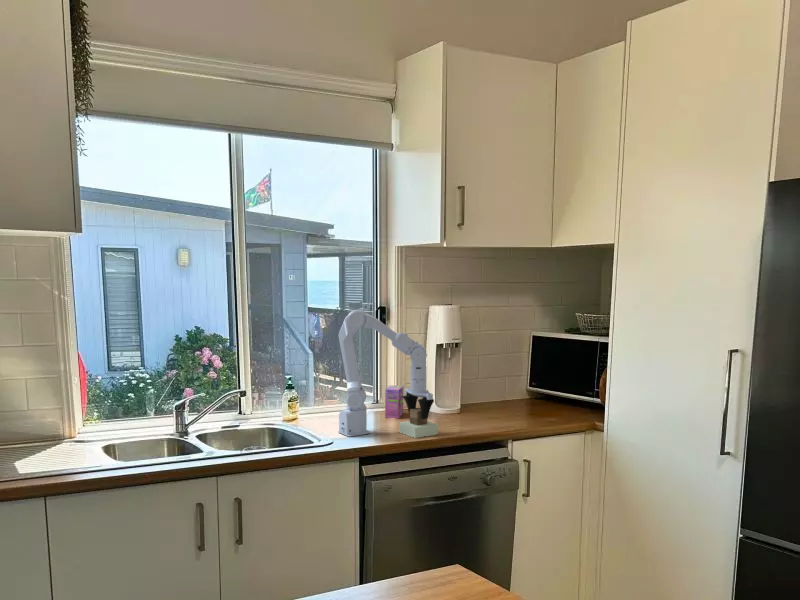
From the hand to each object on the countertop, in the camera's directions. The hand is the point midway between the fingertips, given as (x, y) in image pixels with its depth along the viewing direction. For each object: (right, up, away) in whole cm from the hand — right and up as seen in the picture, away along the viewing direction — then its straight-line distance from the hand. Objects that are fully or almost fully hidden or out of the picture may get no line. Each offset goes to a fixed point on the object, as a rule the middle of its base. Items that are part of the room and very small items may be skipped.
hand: (418, 416), depth 214 cm
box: (-9, -6, +29) cm, 31 cm away
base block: (0, -6, 0) cm, 6 cm away
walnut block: (0, -2, 0) cm, 2 cm away
